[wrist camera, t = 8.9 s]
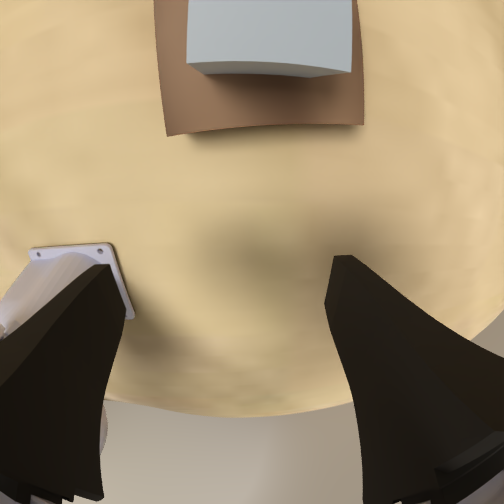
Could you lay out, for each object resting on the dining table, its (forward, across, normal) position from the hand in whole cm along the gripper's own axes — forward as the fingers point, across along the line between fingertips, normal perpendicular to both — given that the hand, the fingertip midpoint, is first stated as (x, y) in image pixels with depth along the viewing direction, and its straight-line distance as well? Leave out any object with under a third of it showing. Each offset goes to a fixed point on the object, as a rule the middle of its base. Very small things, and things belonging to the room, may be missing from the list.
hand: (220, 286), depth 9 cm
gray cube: (+7, -2, -9) cm, 12 cm away
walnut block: (+11, -2, -9) cm, 14 cm away
